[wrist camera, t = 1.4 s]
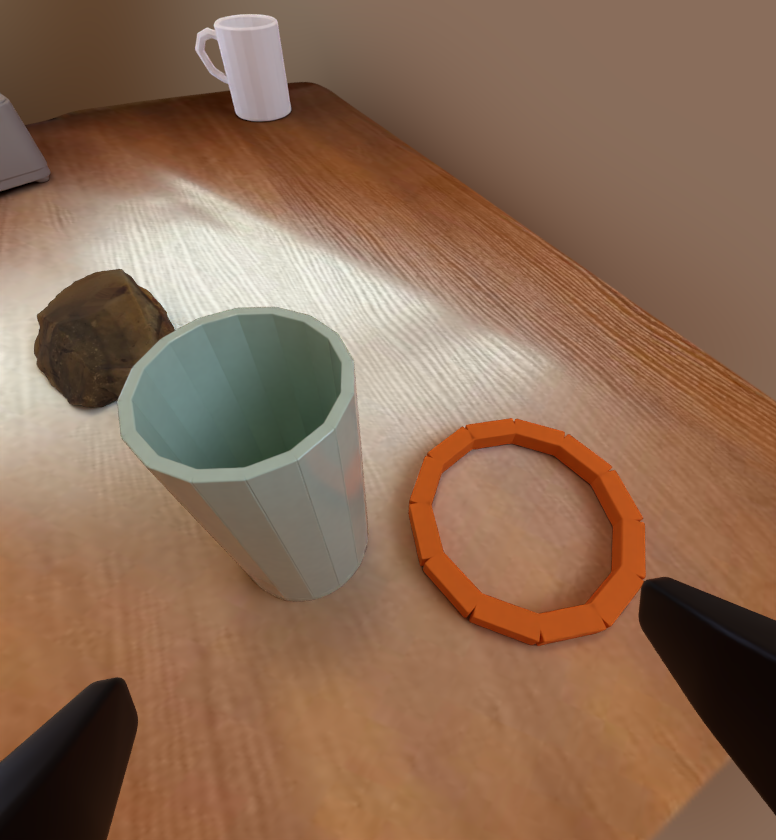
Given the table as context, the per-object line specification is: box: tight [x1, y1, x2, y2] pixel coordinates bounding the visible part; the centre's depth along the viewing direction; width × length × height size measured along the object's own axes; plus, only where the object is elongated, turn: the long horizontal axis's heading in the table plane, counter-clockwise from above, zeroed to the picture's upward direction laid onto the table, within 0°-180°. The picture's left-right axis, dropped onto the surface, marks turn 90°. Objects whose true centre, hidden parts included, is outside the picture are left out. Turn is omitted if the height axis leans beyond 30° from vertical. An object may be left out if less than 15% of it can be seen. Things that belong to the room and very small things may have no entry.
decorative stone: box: [34, 269, 175, 407], centre depth 30 cm, size 10×9×4 cm
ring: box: [408, 418, 646, 646], centre depth 23 cm, size 12×12×1 cm
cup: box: [117, 307, 368, 601], centre depth 17 cm, size 7×7×13 cm
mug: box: [195, 14, 291, 121], centre depth 57 cm, size 8×12×10 cm, turn 82°
